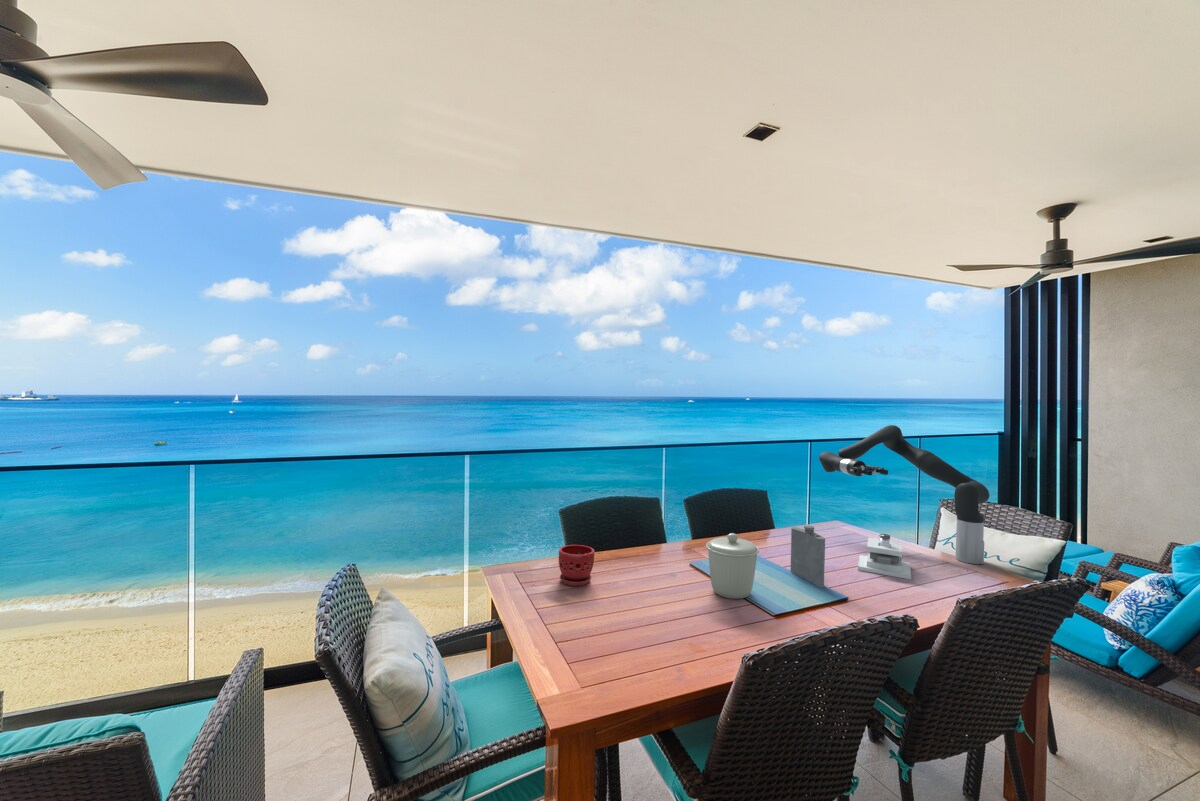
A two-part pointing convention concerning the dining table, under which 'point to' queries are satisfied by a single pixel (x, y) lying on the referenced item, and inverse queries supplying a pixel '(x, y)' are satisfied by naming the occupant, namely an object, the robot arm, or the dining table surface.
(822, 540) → the hip flask
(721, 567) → the canister
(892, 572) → the clevis bracket
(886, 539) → the clevis pin
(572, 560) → the plant pot
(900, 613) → the dining table surface
